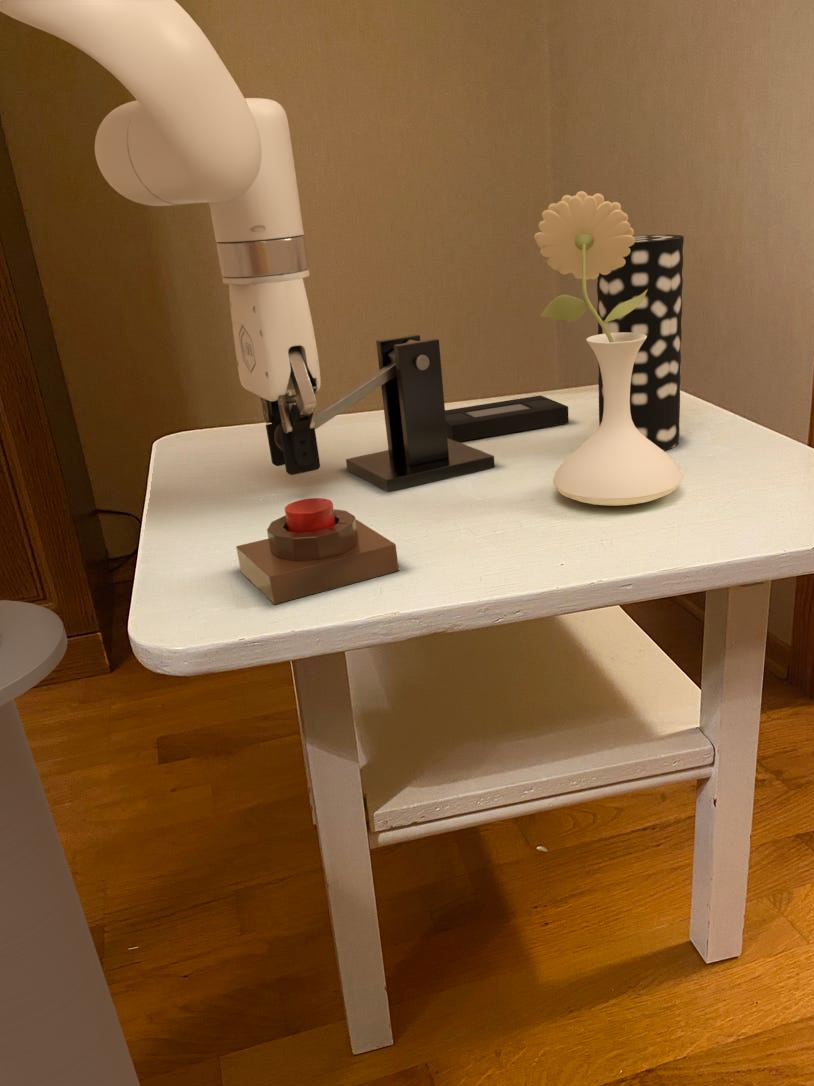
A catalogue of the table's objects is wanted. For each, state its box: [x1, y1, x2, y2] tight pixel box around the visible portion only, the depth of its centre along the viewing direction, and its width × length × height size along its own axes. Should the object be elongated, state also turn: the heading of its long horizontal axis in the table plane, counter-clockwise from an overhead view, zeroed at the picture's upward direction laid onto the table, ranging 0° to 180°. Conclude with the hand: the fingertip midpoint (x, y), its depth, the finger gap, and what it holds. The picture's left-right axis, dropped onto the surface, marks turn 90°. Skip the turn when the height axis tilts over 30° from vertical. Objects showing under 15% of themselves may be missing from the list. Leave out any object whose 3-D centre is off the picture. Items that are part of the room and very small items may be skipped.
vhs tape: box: [445, 395, 570, 443], centre depth 111 cm, size 8×14×2 cm, turn 112°
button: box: [284, 497, 336, 533], centre depth 72 cm, size 4×4×2 cm
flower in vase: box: [534, 190, 684, 507], centre depth 81 cm, size 13×11×25 cm
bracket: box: [345, 334, 496, 493], centre depth 95 cm, size 12×10×13 cm
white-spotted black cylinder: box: [596, 234, 685, 452], centre depth 97 cm, size 8×8×20 cm
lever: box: [274, 340, 416, 451], centre depth 92 cm, size 17×3×3 cm, turn 121°
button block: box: [235, 508, 399, 605], centre depth 74 cm, size 10×8×4 cm
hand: (296, 465), depth 91 cm, fingers closed on lever, 3 cm apart
